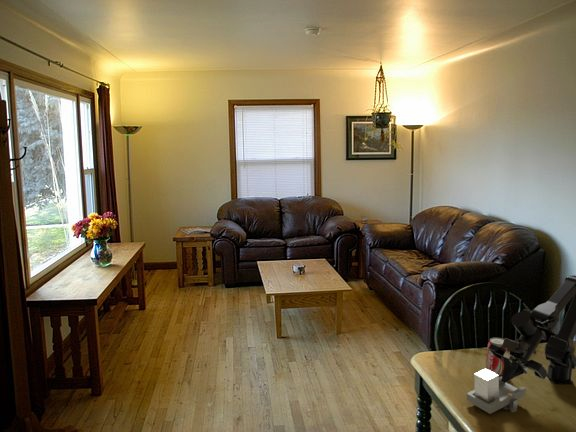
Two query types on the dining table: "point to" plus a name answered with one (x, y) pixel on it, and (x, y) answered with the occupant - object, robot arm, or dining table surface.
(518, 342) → the robot arm
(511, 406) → the fulcrum
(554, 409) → the dining table surface
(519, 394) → the grey tray
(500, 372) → the soda can
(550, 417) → the dining table surface
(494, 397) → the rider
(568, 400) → the dining table surface
